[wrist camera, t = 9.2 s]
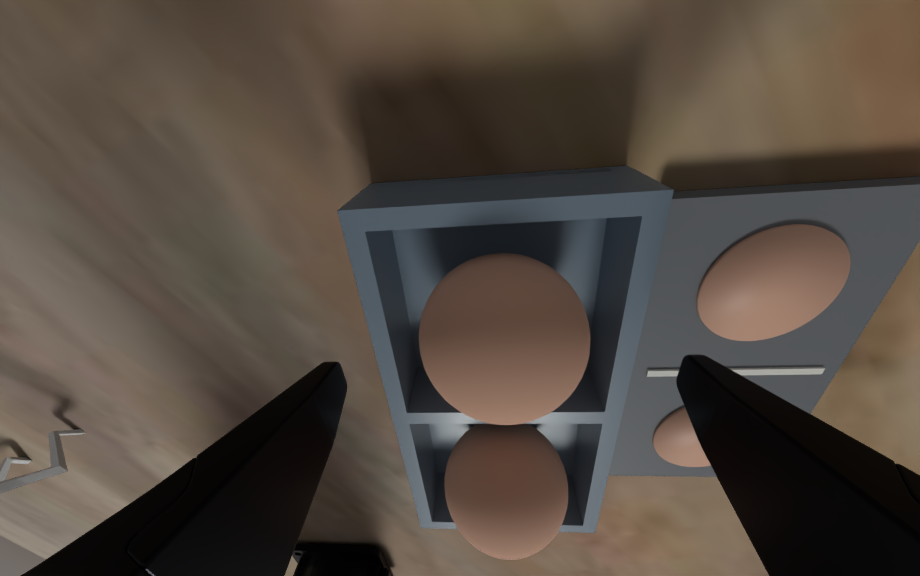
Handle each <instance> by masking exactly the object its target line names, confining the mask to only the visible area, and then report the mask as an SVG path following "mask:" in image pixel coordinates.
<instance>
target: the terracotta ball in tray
mask: <svg viewBox="0 0 920 576" xmlns="http://www.w3.org/2000/svg"><path fill="white" fill-rule="evenodd" d="M444 485H445V497H446V502H447V506H448V509H449V512H450V515H451V517H452V519H453V521H454V523H455V525H456V527H457V528H458V530H459V531H460V533H461V534H462V535H463V536H464V538H465V539H466V540H467V541H468V542H469V543H470V544H471V545H473V546H474V547H475V548H477V549H478V550H480V551H481V552H483V553H485V554H487V555H490V556H492V557H495V558H499V559H505V560H516V559H522V558H526V557H528V556H531V555H534V554H536V553H537V552H539V551H540V550H542V549H543V548H545V547H546V546H547V545H548V544H549V543H550V542H551V541H552V540H553V538H554V537H555V536H556V534H557V533H558V531H559V529H560V527H561V525H562V523H563V521H564V517H565V514H566V510H567V505H568V482H567V476H566V472H565V469H564V465H563V463H562V461H561V459H560V456H559V454H558V453H557V451H556V449H555V448H554V446H553V445H552V444H551V442H550V441H549V440H548V439H547V438H546V437H545V436H544V435H543V434H542V433H541V432H540V431H538V430H537V429H536V428H534V427H532V426H531V425H529V424H516V425H497V424H476V425H475V426H473V427H472V428H470V429H469V430H468V431H466V432H465V433H464V434H463V435H462V436H461V438H460V439H459V440H458V442H457V443H456V445H455V446H454V448H453V450H452V452H451V454H450V457H449V459H448V462H447V466H446V472H445V484H444Z"/></svg>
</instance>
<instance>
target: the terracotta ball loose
mask: <svg viewBox="0 0 920 576" xmlns="http://www.w3.org/2000/svg"><path fill="white" fill-rule="evenodd" d="M590 340H591V338H590V329H589V322H588V318H587V315H586V312H585V309H584V306H583V304H582V302H581V300H580V298H579V297H578V295H577V293H576V292H575V290H574V289H573V288H572V286H571V285H570V284H569V283H568V282H567V281H566V280H565V279H564V278H563V277H562V276H561V275H560V274H559V273H558V272H557V271H555V270H554V269H553V268H551V267H550V266H548V265H546V264H544V263H542V262H540V261H538V260H536V259H533V258H531V257H528V256H524V255H520V254H512V253H494V254H487V255H483V256H478V257H476V258H473V259H470V260H468V261H466V262H464V263H462V264H460V265H459V266H457V267H456V268H454V269H453V270H452V271H450V272H449V273H448V274H447V275H446V276H445V277H444V278H442V280H441V281H440V282H439V283H438V284H437V286H436V287H435V288H434V290H433V291H432V293H431V295H430V296H429V298H428V300H427V302H426V305H425V307H424V310H423V312H422V317H421V321H420V327H419V347H420V354H421V358H422V362H423V365H424V368H425V371H426V373H427V375H428V377H429V379H430V381H431V383H432V384H433V386H434V387H435V389H436V390H437V391H438V392H439V393H440V395H441V396H442V397H443V398H444V399H445V400H446V401H447V402H448V403H449V404H450V405H452V406H453V407H454V408H456V409H457V410H458V411H460V412H461V413H463V414H465V415H467V416H469V417H471V418H473V419H476V420H479V421H482V422H486V423H490V424H497V425H516V424H523V423H527V422H530V421H533V420H536V419H539V418H541V417H543V416H545V415H547V414H549V413H551V412H552V411H554V410H555V409H556V408H558V407H559V406H560V405H561V404H562V403H563V402H564V401H566V400H567V399H568V398H569V397H570V395H571V394H572V393H573V392H574V390H575V389H576V387H577V386H578V384H579V382H580V381H581V379H582V377H583V374H584V372H585V369H586V366H587V363H588V359H589V353H590Z"/></svg>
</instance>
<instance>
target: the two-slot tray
mask: <svg viewBox="0 0 920 576" xmlns="http://www.w3.org/2000/svg"><path fill="white" fill-rule="evenodd" d="M673 192H674V189H672V188H670V187H668V186H666V185H664V184H662V183H660V182H658V181H656V180H654V179H652V178H650V177H648V176H646V175H644V174H643V173H641V172H639V171H637V170H635V169H633V168H631V167H629V166H615V167H601V168H586V169H572V170H557V171H543V172H529V173H514V174H500V175H485V176H471V177H457V178H442V179H428V180H413V181H399V182H385V183H371V184H370V185H368V186H367V187H366V188H365V189H363V190H362V191H361V192H360V193H359V194H357V195H356V196H355V197H354V198H352V199H351V200H350V201H349V202H347V203H346V204H345V205H344V206H342V207H341V208H340V209H339V210H337V212H338V216H339V219H340V223H341V227H342V231H343V235H344V238H345V242H346V246H347V250H348V253H349V257H350V261H351V265H352V268H353V272H354V276H355V280H356V284H357V287H358V291H359V295H360V299H361V302H362V306H363V310H364V314H365V318H366V321H367V325H368V329H369V333H370V336H371V340H372V344H373V348H374V351H375V355H376V359H377V363H378V367H379V370H380V374H381V378H382V382H383V385H384V389H385V393H386V397H387V401H388V404H389V408H390V412H391V416H392V419H393V423H394V427H395V431H396V434H397V438H398V442H399V446H400V450H401V453H402V457H403V461H404V465H405V468H406V472H407V476H408V480H409V484H410V487H411V491H412V495H413V499H414V502H415V506H416V510H417V514H418V517H419V521H420V525H421V528H440V529H458V528H457V527H456V525H455V523H454V521H453V519H452V517H451V515H450V512H449V509H448V506H447V502H446V497H445V485H444V484H445V472H446V466H447V462H448V459H449V457H450V454H451V452H452V450H453V448H454V446H455V445H456V443H457V442H458V440H459V439H460V438H461V436H462V435H463V434H464V433H465V432H466V431H468V430H469V429H470V428H472V427H473V426H475V425H476V424H490V423H486V422H482V421H479V420H476V419H473V418H471V417H469V416H467V415H465V414H463V413H461V412H460V411H458V410H457V409H456V408H454V407H453V406H452V405H450V404H449V403H448V402H447V401H446V400H445V399H444V398H443V397H442V396H441V395H440V393H439V392H438V391H437V390H436V389H435V387H434V386H433V384H432V383H431V381H430V379H429V377H428V375H427V373H426V371H425V368H424V365H423V362H422V358H421V354H420V347H419V327H420V321H421V317H422V312H423V310H424V307H425V305H426V302H427V300H428V298H429V296H430V295H431V293H432V291H433V290H434V288H435V287H436V286H437V284H438V283H439V282H440V281H441V280H442V278H444V277H445V276H446V275H447V274H448V273H449V272H450V271H452V270H453V269H454V268H456V267H457V266H459V265H460V264H462V263H464V262H466V261H468V260H470V259H473V258H476V257H478V256H483V255H487V254H494V253H512V254H520V255H524V256H528V257H531V258H533V259H536V260H538V261H540V262H542V263H544V264H546V265H548V266H550V267H551V268H553V269H554V270H555V271H557V272H558V273H559V274H560V275H561V276H562V277H563V278H564V279H565V280H566V281H567V282H568V283H569V284H570V285H571V286H572V288H573V289H574V290H575V292H576V293H577V295H578V297H579V298H580V300H581V302H582V304H583V306H584V309H585V312H586V315H587V318H588V322H589V329H590V338H591V340H590V353H589V359H588V363H587V366H586V369H585V372H584V374H583V377H582V379H581V381H580V382H579V384H578V386H577V387H576V389H575V390H574V392H573V393H572V394H571V395H570V397H569V398H568V399H567V400H566V401H564V402H563V403H562V404H561V405H560V406H559V407H558V408H556V409H555V410H554V411H552V412H551V413H549V414H547V415H545V416H543V417H541V418H539V419H536V420H533V421H530V422H527V423H523V424H529V425H531V426H532V427H534V428H536V429H537V430H538V431H540V432H541V433H542V434H543V435H544V436H545V437H546V438H547V439H548V440H549V441H550V442H551V444H552V445H553V446H554V448H555V449H556V451H557V453H558V454H559V456H560V459H561V461H562V463H563V465H564V469H565V472H566V476H567V482H568V505H567V510H566V514H565V517H564V521H563V523H562V525H561V527H560V529H559V531H558V532H583V533H595V531H596V526H597V522H598V518H599V513H600V509H601V505H602V500H603V496H604V492H605V487H606V483H607V479H608V474H609V470H610V466H611V461H612V457H613V453H614V448H615V444H616V440H617V435H618V431H619V427H620V422H621V418H622V414H623V409H624V405H625V400H626V396H627V392H628V387H629V383H630V379H631V374H632V370H633V366H634V361H635V357H636V353H637V348H638V344H639V340H640V335H641V331H642V327H643V322H644V318H645V314H646V309H647V305H648V301H649V296H650V292H651V288H652V283H653V279H654V275H655V270H656V266H657V262H658V257H659V253H660V249H661V244H662V240H663V235H664V231H665V227H666V222H667V218H668V214H669V209H670V205H671V201H672V196H673Z"/></svg>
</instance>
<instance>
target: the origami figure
mask: <svg viewBox="0 0 920 576" xmlns="http://www.w3.org/2000/svg"><path fill="white" fill-rule="evenodd" d="M84 433H86V432H84V431H82V430H81V429H78V430H64V431H53V432H50V433H49V445H50V460H51V467H50V468H47V469H43V470H40V471H36V472H33V473H29V474H26V475H22V476H19V477H15V478H12V479H8V480H5V477H6V475H7V472H8V470H9V468H10V465H11V463H18V464H28V463H30V462H31V461H32V460H30V459H28V458H26V457H7V458H5V459H4V460H3V462H2V463H1V465H0V493H3V492H6V491H9V490H12V489H14V488H17V487H20V486H23V485H26V484H29V483H32V482H35V481H38V480H41V479H45V478H48V477H51V476H54V475H57V474H60V473H63V472H67V471H68V470H67V465H66V461H65V457H64V452H63V448H62V444H61V439H60V435H80V434H84ZM4 480H5V481H4Z"/></svg>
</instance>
